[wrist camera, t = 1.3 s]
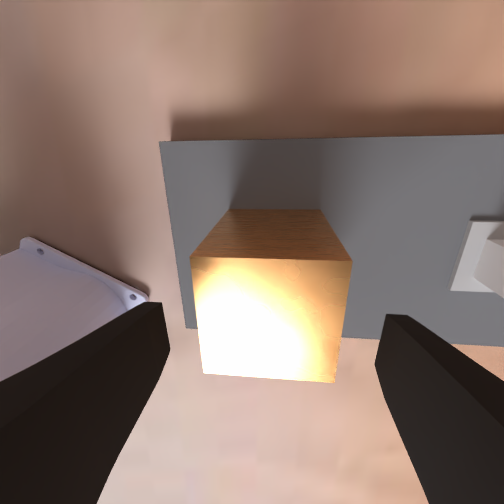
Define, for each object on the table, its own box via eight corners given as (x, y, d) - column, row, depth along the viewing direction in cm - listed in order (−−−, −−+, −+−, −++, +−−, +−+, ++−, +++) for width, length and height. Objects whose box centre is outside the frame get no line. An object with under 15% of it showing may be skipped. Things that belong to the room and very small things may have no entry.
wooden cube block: (233, 286, 16) (203, 372, 10) (228, 208, 14) (189, 256, 8) (313, 290, 15) (334, 383, 9) (320, 209, 14) (352, 261, 7)
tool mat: (192, 315, 19) (161, 375, 14) (170, 142, 14) (110, 139, 9) (546, 333, 17) (663, 415, 12) (657, 131, 12) (931, 121, 7)
